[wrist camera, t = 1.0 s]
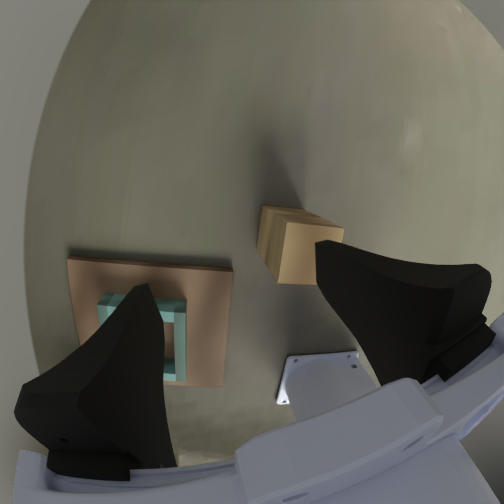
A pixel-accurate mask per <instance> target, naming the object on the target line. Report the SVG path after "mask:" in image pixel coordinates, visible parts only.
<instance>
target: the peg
mask: <svg viewBox="0 0 504 504" xmlns="http://www.w3.org/2000/svg"><path fill="white" fill-rule="evenodd" d="M343 234H344V228H342V227H340V226H338V225H336V224H334V223H332V222H329V221H327V220H325V219H323V218H321V217H319V216H317V215H314V214H312V213H310V212H308V211H306V210H301V209H293V208H284V207H275V206H266V205H262V208H261V216H260V224H259V232H258V240H257V248H256V249H257V250H258V252H259V254H260V255H261V257H262V259H263V260H264V262H265V263H266V265H267V267H268V268H269V270H270V272H271V273H272V275H273V277H274V278H275V280H276V281H277V283H281V284H308V285H317V283H316V260H315V242H319V241H324V240H332V241H336V242H339V243H342V239H343Z"/></svg>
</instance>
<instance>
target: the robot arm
mask: <svg viewBox="0 0 504 504" xmlns="http://www.w3.org/2000/svg"><path fill="white" fill-rule="evenodd" d="M315 260H316V283H317V285H318V286H319V288H320V290H321V292H322V294H323V295H324V297H325V299H326V300H327V301H328V303H329V304H330V305H331V307H332V308H333V309H334V311H335V312H336V313H337V314H338V316H339V317H340V318H341V319H342V321H343V322H344V323H345V325H346V326H347V327H348V328H349V330H350V331H351V332H352V334H353V335H354V337H355V338H356V339H357V341H358V343H359V345H360V346H361V348H362V350H363V351H364V353H365V355H366V357H367V359H368V361H369V362H370V364H371V366H372V368H373V370H374V372H375V374H376V376H377V378H378V380H379V383H380V385H381V387H379V388H378V386H377V385H376V383H375V382H374V380H373V379H372V378H371V376H370V375H369V374H368V372H367V371H366V370H365V369H364V367H363V366H362V365H361V363H360V362H359V361H358V356H359V353H358V352H357V351H351V352H341V353H329V354H316V355H298V356H289V357H288V358H287V360H286V364H285V368H284V372H283V376H282V380H281V384H280V388H279V392H278V396H277V399H276V402H277V404H290V405H291V408H292V411H293V413H294V416H295V418H296V422H293V423H289V424H286V425H283V426H280V427H277V428H274V429H272V430H269V431H267V432H264V433H262V434H259V435H256V436H254V437H252V438H251V439H250V440H248V441H247V442H245V443H244V444H243V445H241V446H240V447H239V448H238V449H237V450H236V451H235V456H234V459H229V460H224V461H219V462H213V463H206V464H199V465H192V466H183V467H177V464H176V461H175V457H174V453H173V448H172V444H171V439H170V434H169V429H168V423H167V416H166V409H165V401H164V390H163V377H164V352H165V334H164V322H163V319H162V316H161V314H160V312H159V309H158V307H157V304H156V302H155V299H154V297H153V294H152V292H151V289H150V287H149V284H148V283H145V284H141V285H137V286H134V287H133V288H132V289H131V290H130V291H129V293H128V294H127V295H126V296H125V298H124V299H123V300H122V301H121V303H120V304H119V305H118V306H117V307H116V309H115V310H114V311H113V312H112V314H111V315H110V316H109V317H108V318H107V319H106V321H105V322H104V323H103V324H102V325H101V326H100V328H99V329H98V330H97V331H96V332H95V333H94V334H93V335H92V336H91V337H90V338H89V339H88V340H87V341H86V342H85V343H84V344H82V345H81V346H80V347H79V348H78V349H77V350H75V351H74V352H73V353H72V354H71V355H69V356H68V357H67V358H66V359H64V360H63V361H62V362H60V363H59V364H57V365H56V366H54V367H53V368H51V369H50V370H48V371H47V372H45V373H44V374H42V375H40V376H38V377H36V378H35V379H33V380H31V381H29V382H27V383H25V384H23V386H22V389H21V391H20V394H19V397H18V400H17V403H16V406H15V410H14V414H15V417H16V419H17V421H18V422H19V424H20V425H21V426H22V427H23V428H24V429H25V430H26V431H27V432H28V433H29V434H30V435H32V436H33V437H34V438H35V439H36V440H38V441H39V442H40V443H41V444H42V445H44V446H45V447H46V448H48V449H49V453H48V457H47V456H45V455H43V454H40V453H36V452H31V451H25V450H20V451H19V457H18V462H17V468H16V475H15V482H14V491H13V502H12V503H13V504H500V503H499V501H498V499H497V498H496V496H495V495H494V493H493V491H492V490H491V488H490V487H489V485H488V484H487V482H486V480H485V479H484V478H483V476H482V474H481V473H480V471H479V470H478V468H477V467H476V465H475V464H474V462H473V461H472V460H471V458H470V457H469V455H468V454H467V452H466V451H465V450H464V448H463V447H462V445H461V444H460V443H459V441H460V440H461V439H462V438H463V437H464V436H465V435H467V434H468V433H469V432H470V431H471V430H472V429H473V428H474V427H475V426H477V425H478V424H479V423H480V422H481V421H482V420H483V419H484V418H485V417H486V416H487V415H488V414H489V413H490V412H491V411H492V410H493V408H495V406H496V405H497V404H498V403H499V402H500V401H501V400H502V399H503V398H504V313H503V314H501V315H500V316H499V317H498V318H497V319H496V320H495V321H494V322H493V323H492V324H491V326H490V327H488V326H487V325H486V324H485V322H486V320H487V318H486V317H485V316H484V315H483V314H482V311H483V309H484V306H485V303H486V301H487V298H488V295H489V292H490V288H491V282H492V281H491V274H490V272H489V271H488V270H486V269H485V268H483V267H482V266H480V265H478V264H462V265H435V264H423V263H415V262H408V261H403V260H398V259H393V258H389V257H385V256H381V255H378V254H374V253H371V252H367V251H364V250H361V249H358V248H355V247H352V246H349V245H346V244H343V243H339V242H336V241H332V240H324V241H319V242H315ZM348 355H349V356H348ZM295 359H297V360H295ZM294 360H295V361H294ZM284 400H285V401H284Z"/></svg>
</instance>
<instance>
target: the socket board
mask: <svg viewBox="0 0 504 504" xmlns="http://www.w3.org/2000/svg"><path fill="white" fill-rule="evenodd" d="M67 266H68V276H69V284H70V292H71V298H72V305H73V311H74V316H75V322H76V327H77V332H78V336H79V341H80V345H82V344H84V343H85V342H86V341H87V340H88V339H89V338H90V337H91V336H92V335H93V334H94V333H95V332H96V331H97V330H98V329H99V328H100V326H101V325H102V324H103V323H104V322H105V321H106V319H107V318H108V317H109V316H110V315H111V314H112V312H113V311H114V310H115V309H116V307H117V306H118V305H119V304H120V303H121V301H122V300H123V299H124V298H125V296H126V295H127V294H128V293H129V291H130V290H131V289H132V288H133V287H134V286H137V285H141V284H145V283H148V284H149V287H150V289H151V292H152V294H153V297H154V299H155V302H156V304H157V307H158V309H159V312H160V314H161V316H162V319H163V322H164V334H165V352H164V377H163V384H168V385H182V386H202V387H223V378H224V366H225V355H226V344H227V333H228V323H229V312H230V302H231V292H232V282H233V268H222V267H206V266H191V265H177V264H163V263H150V262H137V261H124V260H112V259H100V258H88V257H77V256H70V257H69V258H68V259H67Z"/></svg>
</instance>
